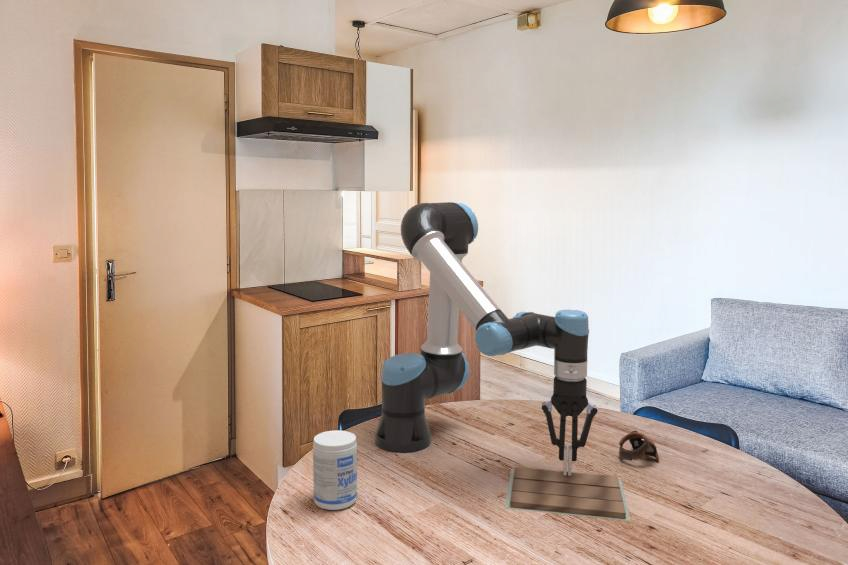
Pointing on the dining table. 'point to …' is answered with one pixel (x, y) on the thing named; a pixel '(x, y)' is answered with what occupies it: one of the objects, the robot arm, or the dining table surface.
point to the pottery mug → (637, 447)
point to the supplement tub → (335, 469)
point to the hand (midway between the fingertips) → (567, 473)
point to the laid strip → (568, 504)
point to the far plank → (566, 477)
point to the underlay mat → (566, 512)
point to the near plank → (567, 490)
